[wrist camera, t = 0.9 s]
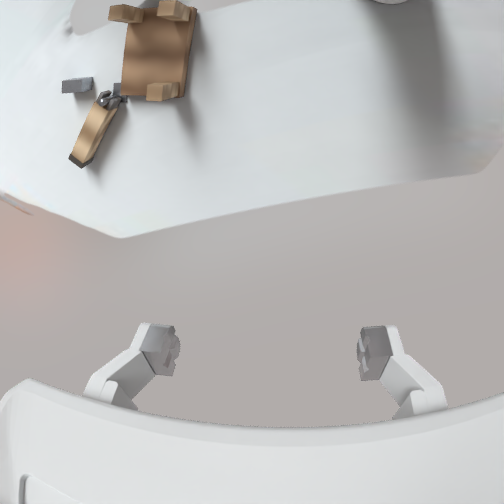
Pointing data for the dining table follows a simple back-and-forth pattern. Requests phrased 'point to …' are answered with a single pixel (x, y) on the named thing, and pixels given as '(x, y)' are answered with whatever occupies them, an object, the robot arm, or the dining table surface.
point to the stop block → (77, 85)
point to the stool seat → (155, 49)
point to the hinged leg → (93, 130)
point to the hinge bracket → (113, 96)
